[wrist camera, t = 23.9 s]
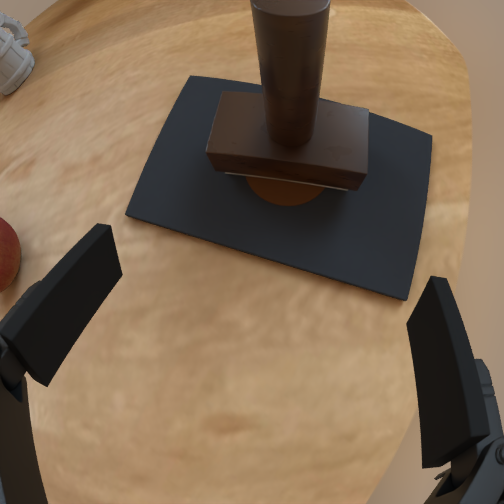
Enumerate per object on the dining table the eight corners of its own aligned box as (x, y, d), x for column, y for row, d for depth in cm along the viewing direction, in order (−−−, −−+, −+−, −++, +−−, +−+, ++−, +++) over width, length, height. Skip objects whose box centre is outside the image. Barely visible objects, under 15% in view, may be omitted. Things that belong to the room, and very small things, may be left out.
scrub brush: (357, 137, 22) (409, -9, 8) (354, 196, 21) (430, 61, 7) (231, 121, 23) (185, -26, 9) (217, 176, 22) (144, 36, 9)
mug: (-5, 104, 30) (-52, 67, 18) (19, 51, 32) (-17, 13, 20) (26, 86, 29) (-23, 40, 17) (51, 33, 31) (15, -11, 19)
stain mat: (430, 138, 22) (433, 134, 21) (404, 301, 20) (407, 300, 20) (191, 78, 25) (189, 74, 25) (128, 216, 23) (124, 214, 23)
